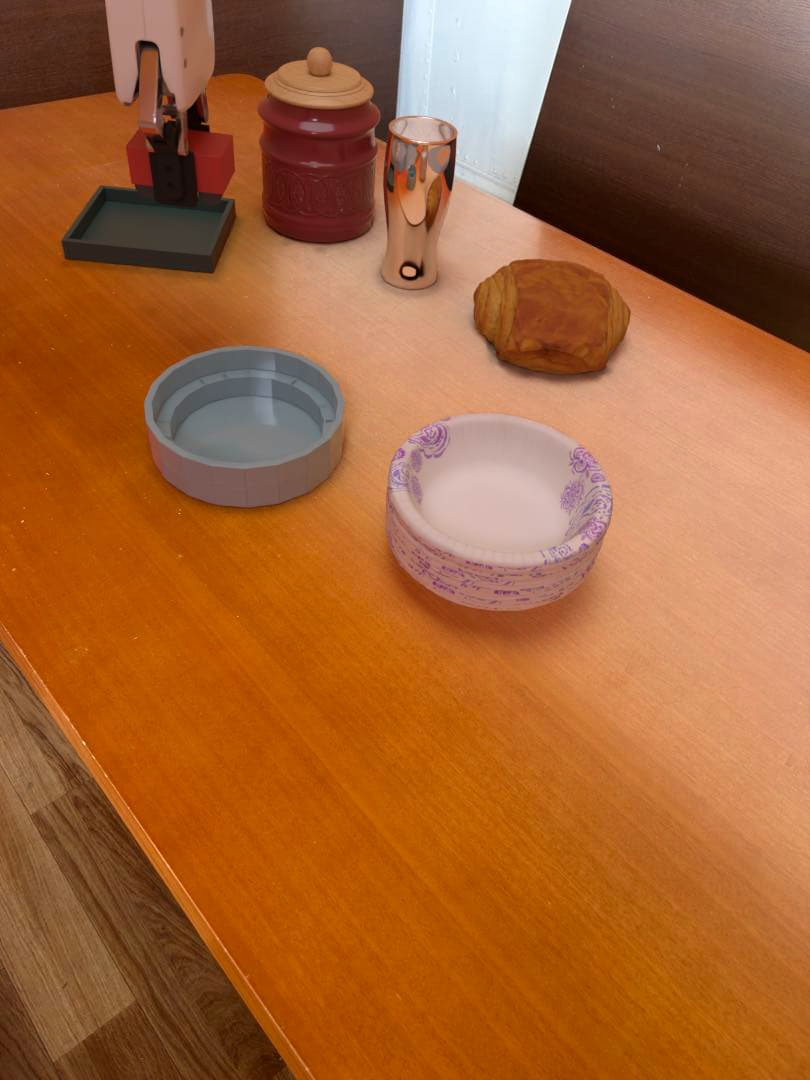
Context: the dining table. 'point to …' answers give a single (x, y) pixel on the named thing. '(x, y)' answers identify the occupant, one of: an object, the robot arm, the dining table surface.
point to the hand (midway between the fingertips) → (185, 187)
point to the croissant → (551, 316)
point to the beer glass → (416, 197)
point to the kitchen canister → (318, 150)
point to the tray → (149, 231)
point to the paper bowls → (496, 511)
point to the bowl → (245, 425)
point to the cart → (209, 164)
